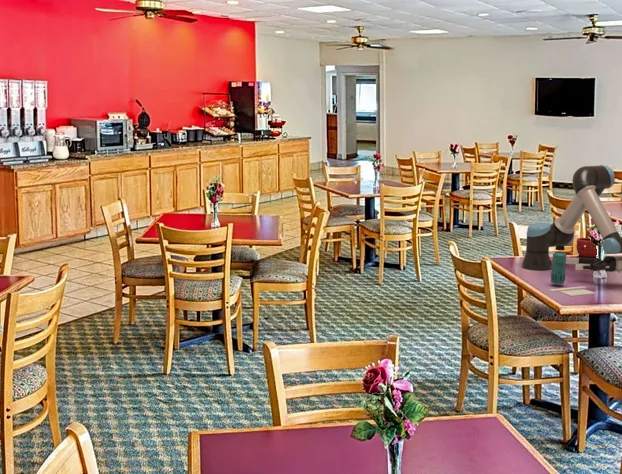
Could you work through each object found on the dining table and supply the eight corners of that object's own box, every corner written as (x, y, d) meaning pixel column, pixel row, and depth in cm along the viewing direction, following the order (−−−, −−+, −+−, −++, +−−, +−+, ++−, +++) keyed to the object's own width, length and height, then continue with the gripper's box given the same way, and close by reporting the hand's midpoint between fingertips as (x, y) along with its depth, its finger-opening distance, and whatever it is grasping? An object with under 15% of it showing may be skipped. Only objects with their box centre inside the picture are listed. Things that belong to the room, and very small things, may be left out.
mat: (559, 292, 372) (559, 291, 372) (584, 289, 377) (584, 289, 377) (570, 296, 365) (570, 295, 365) (595, 293, 370) (595, 293, 370)
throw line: (549, 290, 375) (549, 289, 375) (584, 287, 382) (584, 286, 382) (551, 291, 373) (551, 290, 373) (586, 288, 380) (586, 287, 380)
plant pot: (603, 262, 438) (605, 241, 436) (579, 262, 438) (581, 241, 436) (595, 257, 451) (596, 237, 449) (572, 257, 451) (573, 236, 449)
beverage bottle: (548, 284, 388) (550, 244, 384) (561, 284, 388) (564, 243, 385) (553, 287, 381) (555, 246, 378) (566, 287, 382) (569, 246, 378)
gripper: (624, 277, 372) (579, 277, 371) (602, 265, 396) (560, 266, 395) (625, 261, 370) (580, 261, 369) (603, 251, 395) (561, 251, 394)
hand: (570, 264), depth 382 cm, fingers open, 13 cm apart
